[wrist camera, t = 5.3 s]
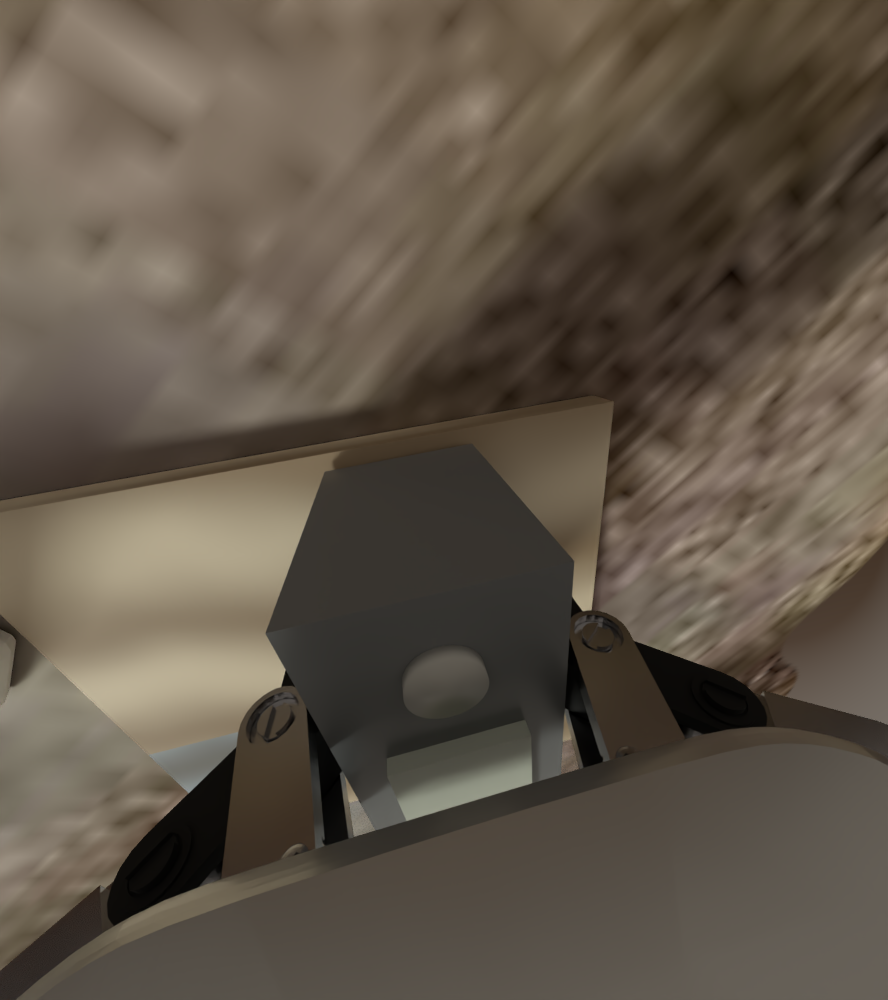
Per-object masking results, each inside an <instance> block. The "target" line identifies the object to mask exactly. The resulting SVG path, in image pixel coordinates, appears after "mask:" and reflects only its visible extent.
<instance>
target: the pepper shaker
mask: <svg viewBox="0 0 888 1000" xmlns="http://www.w3.org/2000/svg"><path fill="white" fill-rule="evenodd" d="M15 646H16V640H15V638H14V637H13V636H12V635H11V634H9V633H7V632H5V631H3V630H1V629H0V706H1V705H2V704H3V703H4V702H5V700H6V697H7V695H8V692H9V688H10V681H11V674H12V667H13V660H14V653H15Z"/></svg>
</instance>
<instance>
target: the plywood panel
mask: <svg viewBox="0 0 888 1000" xmlns="http://www.w3.org/2000/svg"><path fill="white" fill-rule="evenodd" d="M613 408H614V401H611V400H608V399H604V398H601V397H597V396H594V395H592V396H586V397H580V398H575V399H569V400H563V401H558V402H552V403H547V404H541V405H535V406H530V407H524V408H518V409H513V410H507V411H502V412H496V413H490V414H485V415H479V416H473V417H468V418H462V419H457V420H451V421H445V422H440V423H434V424H428V425H423V426H417V427H412V428H406V429H400V430H395V431H389V432H383V433H378V434H372V435H367V436H361V437H355V438H350V439H344V440H338V441H333V442H327V443H322V444H316V445H310V446H305V447H299V448H293V449H288V450H282V451H277V452H271V453H265V454H260V455H254V456H248V457H243V458H237V459H232V460H226V461H220V462H215V463H209V464H203V465H198V466H192V467H187V468H181V469H175V470H170V471H164V472H158V473H153V474H147V475H142V476H136V477H130V478H125V479H119V480H113V481H108V482H102V483H97V484H91V485H85V486H80V487H74V488H68V489H63V490H57V491H52V492H46V493H40V494H35V495H29V496H23V497H18V498H12V499H7V500H1V501H0V614H1V615H2V616H3V617H4V618H5V619H6V620H7V621H8V622H9V623H10V624H11V625H12V626H13V627H14V628H15V629H16V630H17V631H18V632H19V633H21V634H22V635H23V636H24V637H25V638H26V639H27V640H28V641H29V642H30V643H31V644H32V645H33V646H34V647H35V648H36V649H37V650H38V651H39V652H41V653H42V654H43V655H44V656H45V657H46V658H47V659H48V660H49V661H50V662H51V663H52V664H53V665H54V666H55V667H56V668H57V669H58V670H60V671H61V672H62V673H63V674H64V675H65V676H66V677H67V678H68V679H69V680H70V681H71V682H72V683H73V684H74V685H75V686H76V687H77V688H78V689H80V690H81V691H82V692H83V693H84V694H85V695H86V696H87V697H88V698H89V699H90V700H91V701H92V702H93V703H94V704H95V705H96V706H97V707H98V708H100V709H101V710H102V711H103V712H104V713H105V714H106V715H107V716H108V717H109V718H110V719H111V720H112V721H113V722H114V723H115V724H116V725H117V726H118V727H120V728H121V729H122V730H123V731H124V732H125V733H126V734H127V735H128V736H129V737H130V738H131V739H132V740H133V741H134V742H135V743H136V744H137V745H139V746H140V747H141V748H142V749H143V750H144V751H145V752H146V753H147V754H148V755H149V756H150V757H151V758H152V759H153V760H154V761H155V762H156V763H157V764H159V765H160V766H161V767H162V768H163V769H164V770H165V771H166V772H167V773H168V774H169V775H170V776H171V777H172V778H173V779H174V780H175V781H176V782H177V783H179V784H180V785H181V786H182V787H183V788H184V789H185V790H186V791H187V792H188V793H190V792H191V791H192V790H193V789H194V788H195V787H196V786H197V785H198V784H199V783H200V782H201V781H202V780H203V779H204V778H205V777H206V776H207V775H208V774H209V773H210V772H211V771H212V770H213V769H214V768H215V767H216V766H217V765H218V764H219V763H220V762H221V761H222V760H223V759H224V758H225V757H226V756H227V755H228V754H230V753H231V752H232V751H233V750H234V749H235V748H236V746H237V738H238V731H239V728H240V724H241V722H242V720H243V718H244V716H245V714H246V713H247V711H248V710H249V709H250V708H251V706H252V705H253V704H254V703H255V702H256V701H257V700H259V699H260V698H261V697H262V696H263V695H265V694H267V693H268V692H270V691H272V690H274V689H277V688H280V687H281V685H282V682H283V678H284V674H285V668H284V666H283V664H282V663H281V661H280V659H279V657H278V655H277V654H276V652H275V650H274V648H273V646H272V645H271V643H270V641H269V639H268V638H267V636H266V634H265V633H266V630H267V627H268V625H269V622H270V619H271V617H272V614H273V611H274V608H275V606H276V603H277V600H278V597H279V595H280V592H281V589H282V587H283V584H284V581H285V578H286V576H287V573H288V570H289V567H290V565H291V562H292V559H293V557H294V554H295V551H296V548H297V546H298V543H299V540H300V537H301V535H302V532H303V529H304V527H305V524H306V521H307V518H308V516H309V513H310V510H311V507H312V505H313V502H314V499H315V497H316V494H317V491H318V488H319V486H320V483H321V480H322V477H323V475H324V472H325V471H330V470H336V469H341V468H346V467H351V466H357V465H362V464H367V463H372V462H378V461H383V460H388V459H393V458H399V457H404V456H409V455H414V454H420V453H425V452H430V451H435V450H441V449H446V448H451V447H456V446H462V445H467V444H473V445H474V446H475V447H476V449H477V450H478V451H479V452H480V453H481V454H482V455H483V457H484V458H485V459H486V460H487V461H488V462H489V463H490V465H491V466H492V467H493V468H494V469H495V470H496V472H497V473H498V474H499V475H500V476H501V477H502V478H503V480H504V481H505V482H506V483H507V484H508V485H509V486H510V488H511V489H512V490H513V491H514V492H515V493H516V495H517V496H518V497H519V498H520V499H521V500H522V501H523V503H524V504H525V505H526V506H527V507H528V508H529V509H530V511H531V512H532V513H533V514H534V515H535V516H536V518H537V519H538V520H539V521H540V522H541V523H542V524H543V526H544V527H545V528H546V529H547V530H548V531H549V532H550V534H551V535H552V536H553V537H554V538H555V539H556V541H557V542H558V543H559V544H560V545H561V546H562V547H563V549H564V550H565V551H566V552H567V553H568V554H569V555H570V557H571V558H572V559H573V560H574V575H573V590H572V597H573V599H574V600H575V601H576V603H577V604H578V605H579V607H580V608H581V610H582V611H587V610H592V601H593V592H594V583H595V573H596V564H597V555H598V546H599V537H600V527H601V518H602V509H603V500H604V491H605V481H606V472H607V463H608V454H609V445H610V435H611V426H612V417H613ZM570 739H571V735H570V732H569V728H568V724H567V720H566V716H565V714H564V729H563V741H566V740H570ZM345 779H346V777H345ZM346 786H347V793H348V800H349V803H350V802H353V801H357V800H358V798H357V796H356V795H355V793H354V791H353V789H352V787H351V786H350V784H349V782H348V780H347V779H346Z"/></svg>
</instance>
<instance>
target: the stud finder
mask: <svg viewBox="0 0 888 1000" xmlns="http://www.w3.org/2000/svg"><path fill="white" fill-rule="evenodd" d="M573 575H574V560H573V559H572V558H571V557H570V555H569V554H568V553H567V552H566V551H565V550H564V549H563V547H562V546H561V545H560V544H559V543H558V542H557V541H556V539H555V538H554V537H553V536H552V535H551V534H550V532H549V531H548V530H547V529H546V528H545V527H544V526H543V524H542V523H541V522H540V521H539V520H538V519H537V518H536V516H535V515H534V514H533V513H532V512H531V511H530V509H529V508H528V507H527V506H526V505H525V504H524V503H523V501H522V500H521V499H520V498H519V497H518V496H517V495H516V493H515V492H514V491H513V490H512V489H511V488H510V486H509V485H508V484H507V483H506V482H505V481H504V480H503V478H502V477H501V476H500V475H499V474H498V473H497V472H496V470H495V469H494V468H493V467H492V466H491V465H490V463H489V462H488V461H487V460H486V459H485V458H484V457H483V455H482V454H481V453H480V452H479V451H478V450H477V449H476V447H475V446H474V445H473V444H467V445H462V446H456V447H451V448H446V449H441V450H435V451H430V452H425V453H420V454H414V455H409V456H404V457H399V458H393V459H388V460H383V461H378V462H372V463H367V464H362V465H357V466H351V467H346V468H341V469H336V470H330V471H325V472H324V475H323V477H322V480H321V483H320V486H319V488H318V491H317V494H316V497H315V499H314V502H313V505H312V507H311V510H310V513H309V516H308V518H307V521H306V524H305V527H304V529H303V532H302V535H301V537H300V540H299V543H298V546H297V548H296V551H295V554H294V557H293V559H292V562H291V565H290V567H289V570H288V573H287V576H286V578H285V581H284V584H283V587H282V589H281V592H280V595H279V597H278V600H277V603H276V606H275V608H274V611H273V614H272V617H271V619H270V622H269V625H268V627H267V630H266V633H265V634H266V636H267V638H268V639H269V641H270V643H271V645H272V646H273V648H274V650H275V652H276V654H277V655H278V657H279V659H280V661H281V663H282V664H283V666H284V668H285V670H286V671H287V673H288V675H289V677H290V679H291V680H292V682H293V684H294V686H295V687H296V689H297V691H298V693H299V695H300V696H301V698H302V700H303V702H304V704H305V705H306V707H307V709H308V711H309V712H310V714H311V716H312V718H313V720H314V721H315V723H316V725H317V727H318V729H319V730H320V732H321V734H322V736H323V737H324V739H325V741H326V743H327V745H328V746H329V748H330V750H331V752H332V754H333V755H334V757H335V759H336V761H337V762H338V764H339V766H340V768H341V770H342V771H343V773H344V775H345V777H346V779H347V780H348V782H349V784H350V786H351V787H352V789H353V791H354V793H355V795H356V796H357V798H358V800H359V802H360V803H361V805H362V807H363V809H364V811H365V812H366V814H367V816H368V818H369V820H370V821H371V823H372V825H373V827H374V828H375V830H379V829H382V828H385V827H389V826H392V825H395V824H398V823H402V822H405V821H408V820H412V819H415V818H418V817H422V816H425V815H428V814H432V813H435V812H438V811H441V810H445V809H448V808H451V807H455V806H458V805H461V804H465V803H468V802H471V801H475V800H478V799H481V798H485V797H488V796H491V795H494V794H498V793H501V792H504V791H508V790H511V789H514V788H518V787H521V786H524V785H528V784H531V783H534V782H538V781H541V780H545V779H548V778H551V777H555V776H558V775H561V760H562V745H563V729H564V714H565V699H566V683H567V668H568V652H569V637H570V621H571V606H572V590H573Z"/></svg>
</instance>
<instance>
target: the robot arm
mask: <svg viewBox="0 0 888 1000" xmlns="http://www.w3.org/2000/svg"><path fill="white" fill-rule="evenodd" d="M565 716H566V720H567V724H568V728H569V732H570V735H571V739H572V743H573V747H574V751H575V755H576V759H577V763H578V766H579V769H578V770H575V771H572V772H568V773H565V774H561V775H558V776H555V777H551V778H548V779H545V780H541V781H538V782H534V783H531V784H528V785H524V786H521V787H518V788H514V789H511V790H508V791H504V792H501V793H498V794H494V795H491V796H488V797H485V798H481V799H478V800H475V801H471V802H468V803H465V804H461V805H458V806H455V807H451V808H448V809H445V810H441V811H438V812H435V813H432V814H428V815H425V816H422V817H418V818H415V819H412V820H408V821H405V822H402V823H398V824H395V825H392V826H389V827H385V828H382V829H379V830H376V831H372V832H369V833H366V834H363V835H359V836H356V837H354V835H353V828H352V821H351V814H350V807H349V800H348V793H347V786H346V779H345V775H344V773H343V771H342V770H341V768H340V766H339V764H338V762H337V761H336V759H335V757H334V755H333V754H332V752H331V750H330V748H329V746H328V745H327V743H326V741H325V739H324V737H323V736H322V734H321V732H320V730H319V729H318V727H317V725H316V723H315V721H314V720H313V718H312V716H311V714H310V712H309V711H308V709H307V707H306V705H305V704H304V702H303V700H302V698H301V696H300V695H299V693H298V691H297V689H296V687H295V686H294V684H293V682H292V680H291V679H290V677H289V675H288V673H287V671H286V670H285V674H284V678H283V682H282V685H281V687H280V688H277V689H274V690H272V691H270V692H268V693H267V694H265V695H263V696H262V697H261V698H260V699H259V700H257V701H256V702H255V703H254V704H253V705H252V706H251V708H250V709H249V710H248V711H247V713H246V714H245V716H244V718H243V720H242V722H241V724H240V728H239V731H238V738H237V746H236V748H235V749H234V750H233V751H232V752H231V753H230V754H228V755H227V756H226V757H225V758H224V759H223V760H222V761H221V762H220V763H219V764H218V765H217V766H216V767H215V768H214V769H213V770H212V771H211V772H210V773H209V774H208V775H207V776H206V777H205V778H204V779H203V780H202V781H201V782H200V783H199V784H198V785H197V786H196V787H195V788H194V789H193V790H192V791H191V792H190V793H189V794H188V795H186V796H185V797H184V798H183V799H182V800H181V801H180V802H179V803H178V804H177V805H176V806H175V807H174V808H173V809H172V810H171V811H170V812H169V813H168V814H167V815H166V816H165V817H164V818H163V819H162V820H161V821H160V822H159V823H158V824H157V825H156V826H155V827H154V828H153V829H152V830H151V831H150V832H149V833H148V834H147V835H145V837H144V838H143V839H142V840H141V841H140V842H139V843H138V844H137V846H136V847H135V848H134V849H133V850H132V851H131V853H130V854H129V856H128V857H127V859H126V860H125V862H124V863H123V864H122V866H121V867H120V869H119V871H118V873H117V876H116V878H115V880H114V881H113V882H112V883H111V884H110V885H109V886H108V887H107V888H104V887H102V886H101V885H100V886H99V887H97V888H96V889H95V890H94V891H93V892H92V893H90V894H89V895H88V896H87V897H86V898H85V899H83V900H82V901H81V902H80V903H79V904H78V905H76V906H75V907H74V908H73V909H72V910H71V911H69V912H68V913H67V914H66V915H65V916H64V917H62V918H61V919H60V920H59V921H58V922H57V923H55V924H54V925H53V926H52V927H51V928H50V929H48V930H47V931H46V932H45V933H44V934H43V935H41V936H40V937H39V938H38V939H37V940H36V941H34V942H33V943H32V944H31V945H30V946H29V947H27V948H26V949H25V950H24V951H23V952H22V953H20V954H19V955H18V956H17V957H16V958H15V959H14V960H12V961H11V962H10V963H9V964H8V965H7V966H5V967H4V968H3V969H2V970H1V971H0V1000H888V725H887V724H884V723H882V722H879V721H875V720H872V719H868V718H864V717H861V716H857V715H853V714H849V713H846V712H842V711H838V710H834V709H830V708H827V707H823V706H819V705H815V704H812V703H808V702H804V701H800V700H797V699H793V698H789V697H785V696H782V695H778V694H774V693H770V692H766V691H763V692H762V694H761V695H759V694H755V693H753V692H752V691H751V690H750V689H749V688H748V687H747V686H745V685H744V684H742V683H741V682H739V681H738V680H736V679H735V678H733V677H731V676H728V675H726V674H724V673H722V672H719V671H716V670H714V669H711V668H708V667H705V666H702V665H700V664H697V663H694V662H691V661H688V660H686V659H683V658H680V657H677V656H674V655H672V654H669V653H666V652H663V651H660V650H658V649H655V648H652V647H649V646H647V645H644V644H641V643H638V642H635V641H634V640H633V639H632V637H631V635H630V633H629V631H628V630H627V628H626V627H625V626H624V624H623V623H622V622H620V621H619V620H618V619H617V618H615V617H613V616H611V615H609V614H607V613H604V612H600V611H593V610H587V611H582V610H581V608H580V607H579V605H578V604H577V603H576V601H575V600H574V599H573V597H572V606H571V621H570V637H569V652H568V668H567V683H566V699H565Z"/></svg>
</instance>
